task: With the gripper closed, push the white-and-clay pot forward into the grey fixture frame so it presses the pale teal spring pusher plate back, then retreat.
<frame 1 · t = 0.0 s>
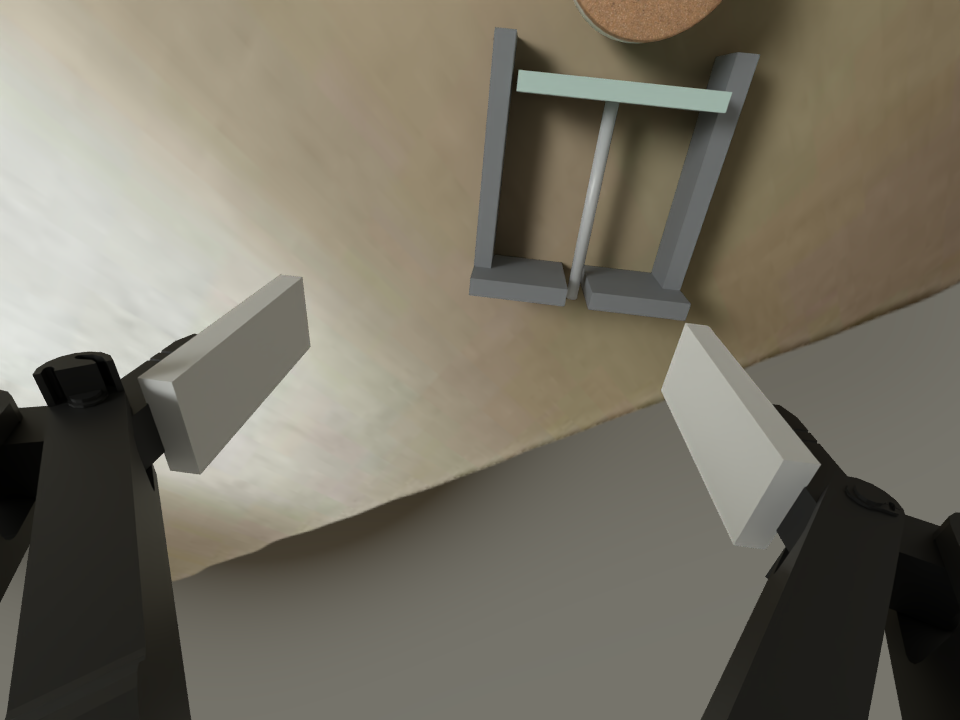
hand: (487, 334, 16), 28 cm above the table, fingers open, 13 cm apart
grey fixture frame: (591, 167, 38), on the table
pusher: (591, 202, 36), point 4 cm above the table, slide at 0.0 cm
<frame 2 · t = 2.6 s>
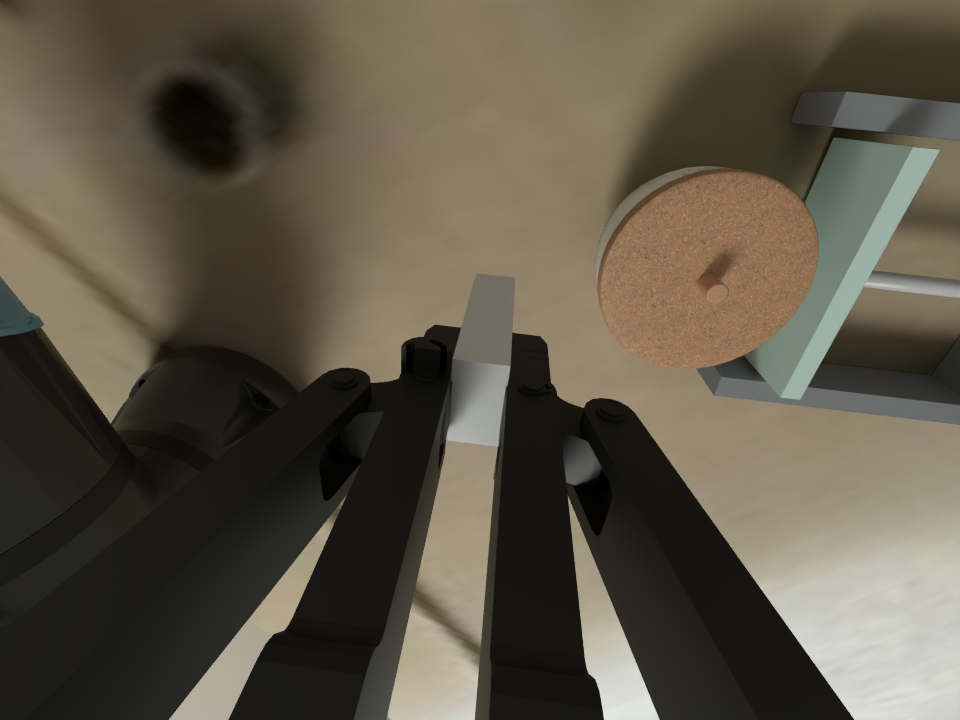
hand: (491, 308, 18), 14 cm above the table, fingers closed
grey fixture frame: (869, 264, 30), on the table
pusher: (948, 288, 26), point 4 cm above the table, slide at 0.0 cm
lidded jar: (663, 240, 30), on the table
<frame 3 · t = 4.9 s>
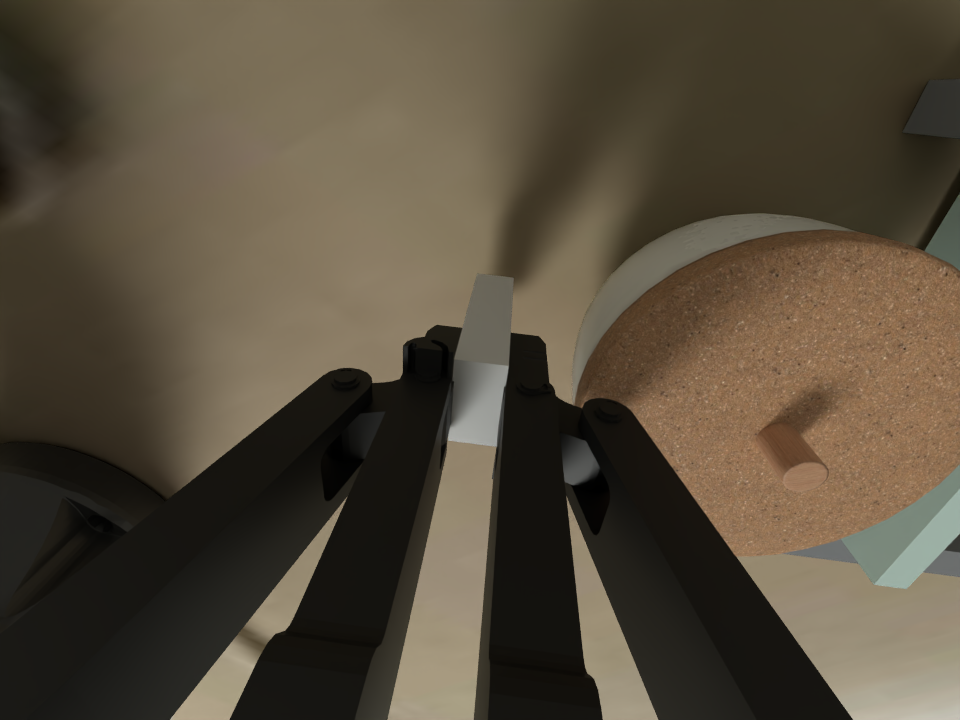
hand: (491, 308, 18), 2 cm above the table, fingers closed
lidded jar: (683, 314, 19), on the table, touching gripper
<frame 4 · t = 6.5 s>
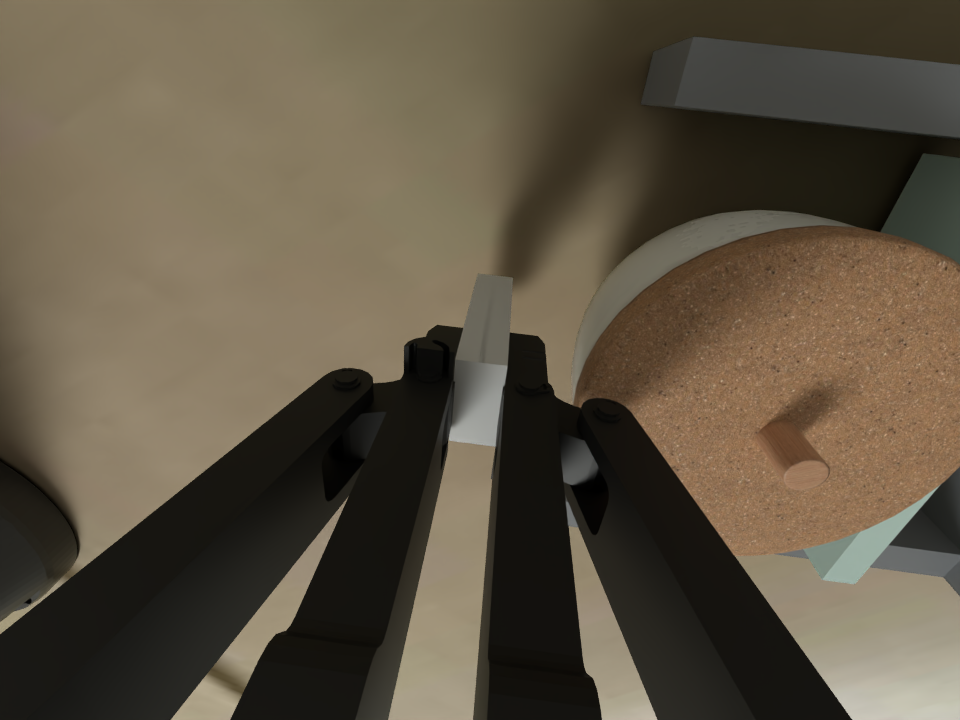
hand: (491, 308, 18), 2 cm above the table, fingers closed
grey fixture frame: (793, 331, 19), on the table
lidded jar: (684, 312, 19), on the table, touching gripper
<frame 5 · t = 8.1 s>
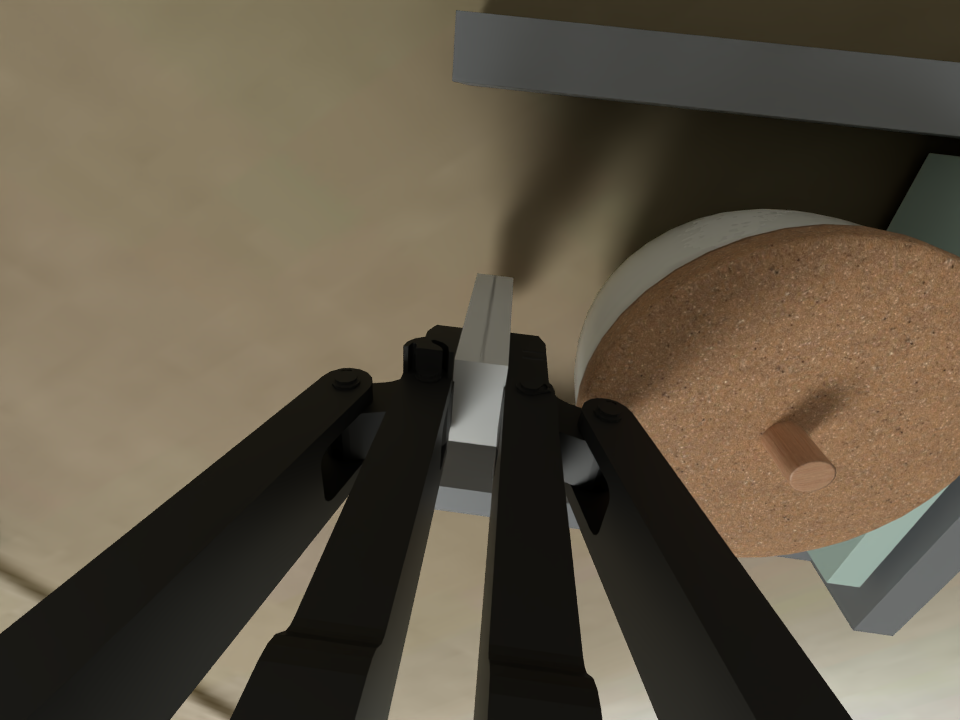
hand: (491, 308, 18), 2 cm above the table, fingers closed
grey fixture frame: (654, 314, 19), on the table
lidded jar: (688, 312, 19), on the table, touching gripper, pusher
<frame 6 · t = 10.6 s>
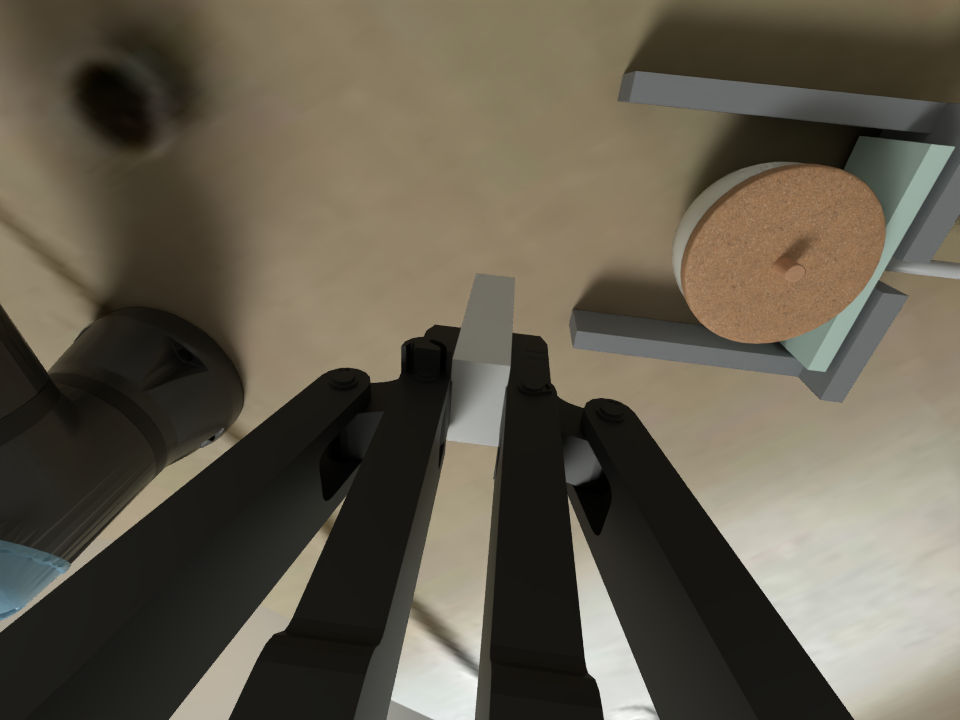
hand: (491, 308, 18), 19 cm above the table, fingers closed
grey fixture frame: (708, 230, 33), on the table
lidded jar: (729, 229, 33), on the table
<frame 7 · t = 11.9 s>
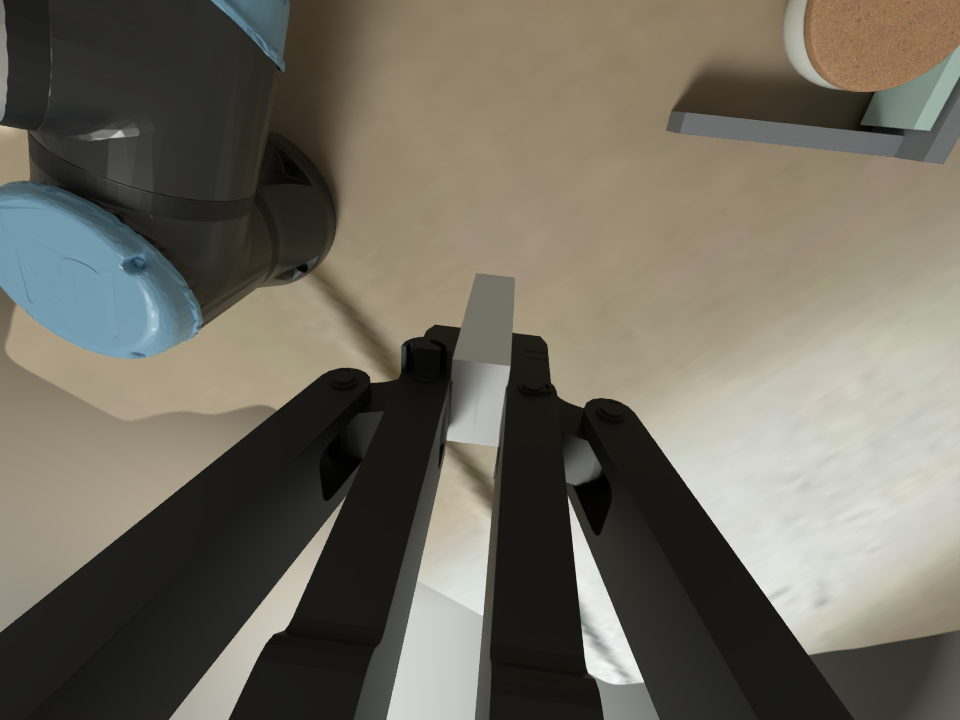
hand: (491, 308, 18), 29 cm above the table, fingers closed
grey fixture frame: (811, 13, 35), on the table
lidded jar: (831, 13, 35), on the table
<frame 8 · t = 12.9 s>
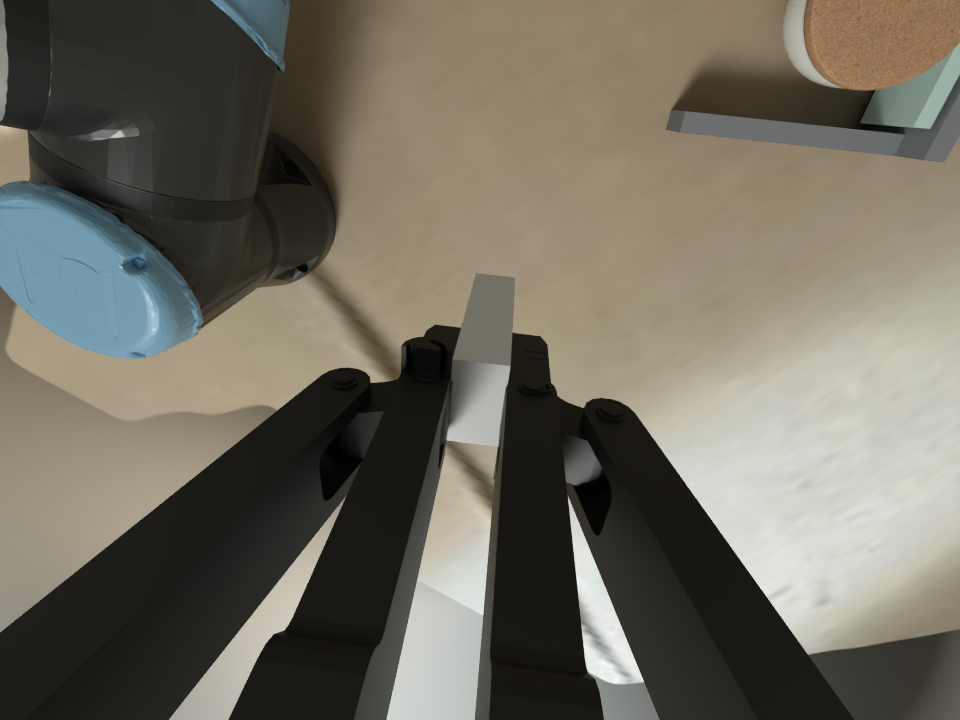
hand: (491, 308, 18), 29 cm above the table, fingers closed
grey fixture frame: (811, 11, 35), on the table
lidded jar: (831, 11, 35), on the table
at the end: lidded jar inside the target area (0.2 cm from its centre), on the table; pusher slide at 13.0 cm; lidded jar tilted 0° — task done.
